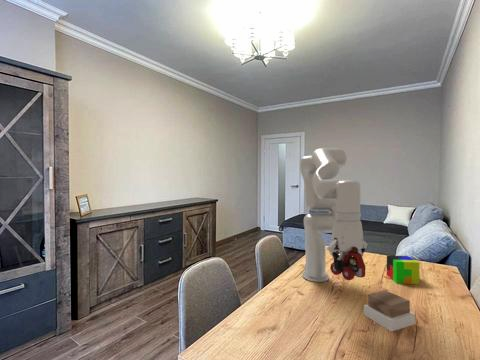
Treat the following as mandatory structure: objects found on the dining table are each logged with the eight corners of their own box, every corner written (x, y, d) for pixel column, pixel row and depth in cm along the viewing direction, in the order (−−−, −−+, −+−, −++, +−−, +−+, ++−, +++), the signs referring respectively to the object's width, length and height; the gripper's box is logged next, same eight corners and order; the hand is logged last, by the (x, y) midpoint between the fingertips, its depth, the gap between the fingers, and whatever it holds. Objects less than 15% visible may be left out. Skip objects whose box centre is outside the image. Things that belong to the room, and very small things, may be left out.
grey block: (363, 316, 95) (363, 305, 95) (386, 310, 99) (386, 299, 99) (391, 333, 85) (391, 320, 85) (414, 325, 89) (414, 313, 89)
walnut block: (368, 305, 94) (368, 294, 94) (385, 301, 98) (385, 290, 98) (391, 318, 86) (391, 305, 86) (409, 312, 90) (409, 300, 90)
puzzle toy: (407, 275, 132) (407, 256, 131) (419, 284, 122) (419, 262, 122) (386, 275, 133) (386, 255, 132) (396, 283, 123) (396, 261, 123)
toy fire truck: (356, 284, 82) (356, 251, 82) (326, 271, 93) (326, 242, 93) (371, 280, 85) (371, 248, 85) (340, 268, 96) (340, 240, 96)
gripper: (359, 214, 96) (359, 262, 96) (319, 216, 89) (319, 268, 90) (376, 217, 89) (376, 269, 89) (334, 220, 82) (334, 276, 83)
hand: (347, 268), depth 89 cm, fingers closed on toy fire truck, 7 cm apart
